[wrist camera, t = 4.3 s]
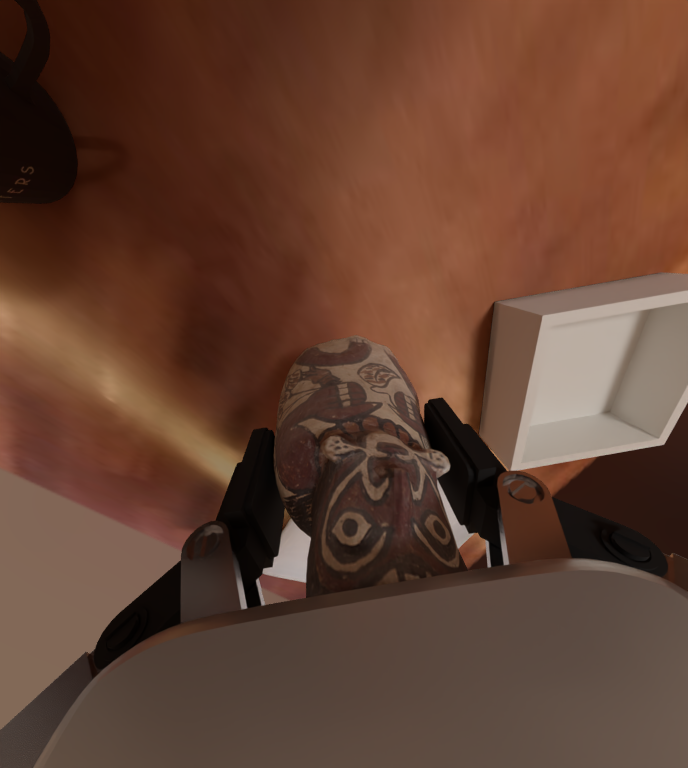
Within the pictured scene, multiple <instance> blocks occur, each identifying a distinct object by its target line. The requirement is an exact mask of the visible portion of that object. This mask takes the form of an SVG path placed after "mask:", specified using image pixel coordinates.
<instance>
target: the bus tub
mask: <svg viewBox="0 0 688 768" xmlns="http://www.w3.org/2000/svg"><path fill="white" fill-rule="evenodd" d="M687 402H688V274H677V273H657V274H651V275H646V276H640V277H634V278H628V279H623V280H617V281H611V282H605V283H600V284H594V285H588V286H582V287H577V288H571V289H565V290H560V291H554V292H548V293H542V294H537V295H531V296H525V297H519V298H514V299H508V300H502V301H496V302H494V311H493V319H492V328H491V336H490V345H489V353H488V362H487V370H486V379H485V387H484V396H483V404H482V413H481V421H480V430H479V436H480V437H481V438H482V439H483V441H484V442H485V443H486V444H487V445H488V446H489V447H490V449H491V450H492V451H493V452H494V453H495V454H496V456H497V457H498V458H499V459H500V460H501V461H502V463H503V464H504V465H505V466H506V467H507V468H508V469H509V471H511V470H512V471H517V470H522V469H528V468H534V467H539V466H545V465H551V464H556V463H562V462H568V461H573V460H579V459H585V458H590V457H596V456H602V455H607V454H613V453H619V452H624V451H630V450H635V449H641V448H647V447H653V446H658V445H664V444H665V442H666V440H667V438H668V436H669V435H670V433H671V431H672V429H673V427H674V426H675V424H676V422H677V420H678V418H679V417H680V415H681V413H682V411H683V409H684V408H685V406H686V404H687Z"/></svg>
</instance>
